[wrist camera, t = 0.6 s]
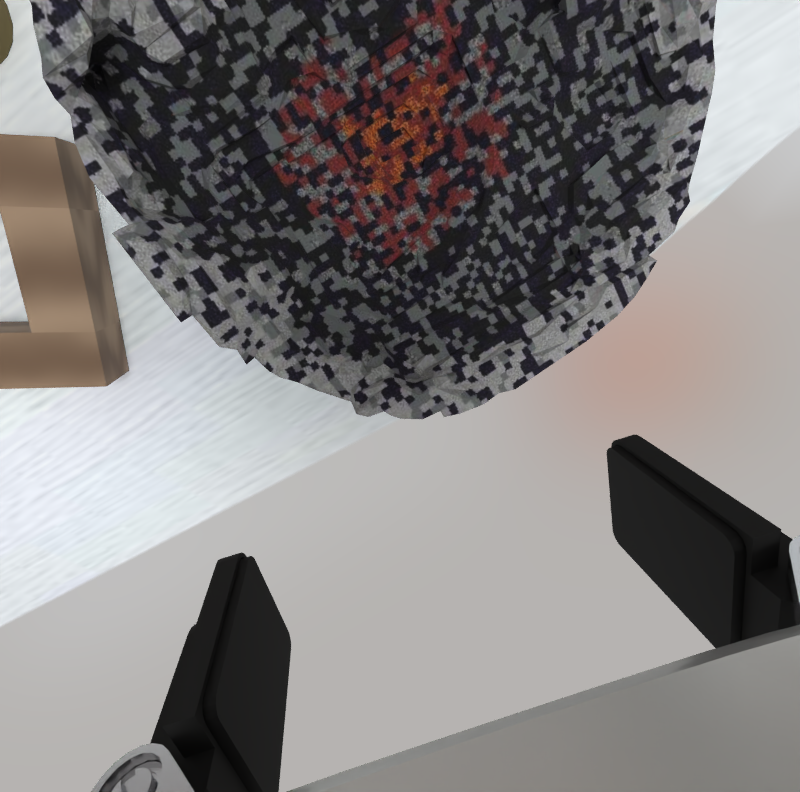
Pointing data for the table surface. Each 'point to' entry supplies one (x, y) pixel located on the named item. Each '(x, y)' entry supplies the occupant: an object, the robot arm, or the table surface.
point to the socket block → (56, 270)
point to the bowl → (389, 174)
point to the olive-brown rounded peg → (5, 31)
